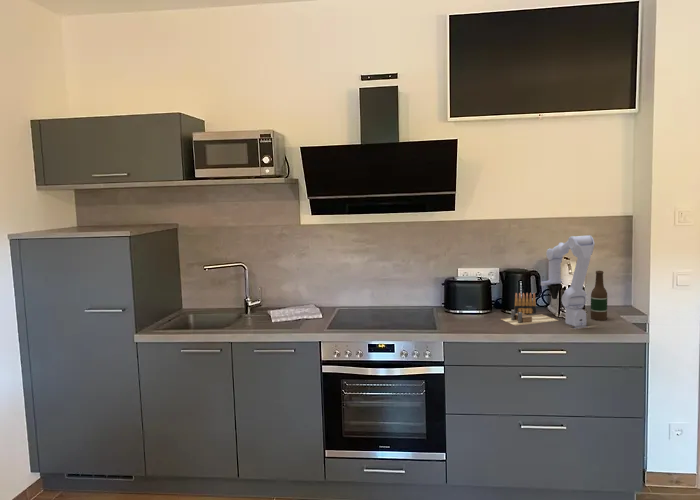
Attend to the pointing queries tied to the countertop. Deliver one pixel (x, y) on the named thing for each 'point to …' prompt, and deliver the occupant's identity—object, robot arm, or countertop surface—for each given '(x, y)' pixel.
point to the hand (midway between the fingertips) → (554, 298)
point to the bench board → (535, 319)
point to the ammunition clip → (525, 304)
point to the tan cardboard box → (524, 318)
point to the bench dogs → (518, 316)
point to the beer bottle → (599, 299)
